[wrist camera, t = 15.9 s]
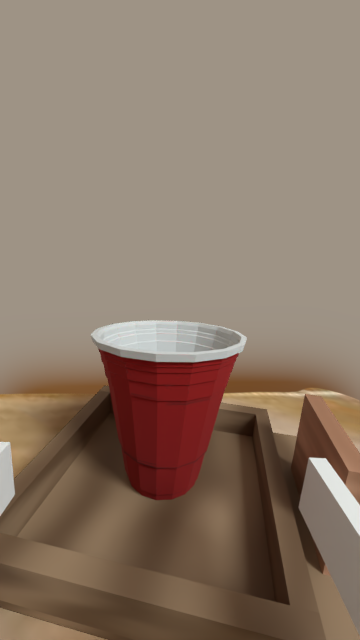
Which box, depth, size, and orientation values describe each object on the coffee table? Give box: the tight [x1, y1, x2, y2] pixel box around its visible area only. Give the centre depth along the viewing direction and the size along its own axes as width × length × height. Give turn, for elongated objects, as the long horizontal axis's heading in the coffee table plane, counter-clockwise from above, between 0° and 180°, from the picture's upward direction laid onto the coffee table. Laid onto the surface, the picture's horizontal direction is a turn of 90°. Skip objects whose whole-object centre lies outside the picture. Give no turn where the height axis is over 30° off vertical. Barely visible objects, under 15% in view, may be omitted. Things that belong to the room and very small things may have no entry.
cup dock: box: [0, 386, 360, 640], centre depth 20 cm, size 21×17×8 cm
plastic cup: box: [91, 320, 247, 500], centre depth 21 cm, size 11×11×12 cm
